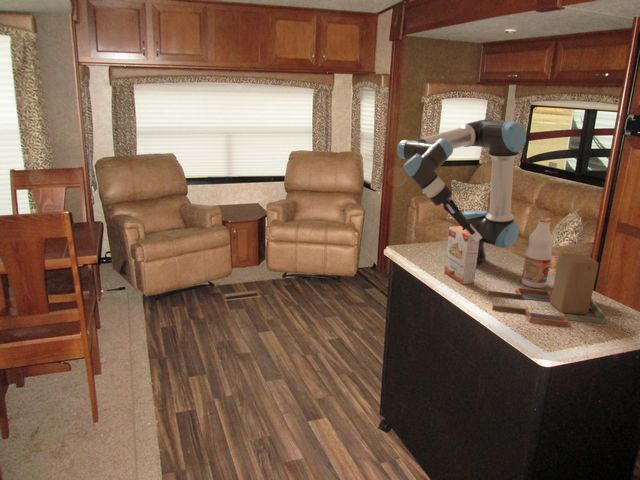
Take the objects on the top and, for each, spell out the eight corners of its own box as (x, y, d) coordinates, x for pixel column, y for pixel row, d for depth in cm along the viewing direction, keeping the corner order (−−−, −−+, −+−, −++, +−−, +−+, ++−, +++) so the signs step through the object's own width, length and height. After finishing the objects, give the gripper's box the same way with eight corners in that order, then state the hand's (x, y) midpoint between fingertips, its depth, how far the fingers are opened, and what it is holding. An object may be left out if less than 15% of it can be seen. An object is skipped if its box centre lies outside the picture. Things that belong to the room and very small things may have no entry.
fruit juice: (519, 278, 210) (530, 214, 202) (543, 281, 208) (555, 216, 200) (523, 286, 201) (534, 220, 193) (547, 289, 199) (560, 222, 191)
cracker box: (443, 272, 213) (448, 226, 207) (455, 271, 215) (461, 225, 209) (461, 284, 200) (468, 235, 194) (474, 283, 202) (481, 234, 196)
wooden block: (588, 315, 177) (600, 262, 171) (561, 314, 177) (571, 261, 171) (575, 303, 186) (585, 253, 181) (548, 302, 186) (558, 252, 180)
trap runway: (485, 287, 198) (486, 280, 198) (584, 298, 192) (585, 291, 191) (495, 317, 172) (496, 309, 171) (610, 331, 165) (612, 323, 164)
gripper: (428, 194, 187) (468, 240, 189) (429, 201, 175) (472, 251, 177) (444, 181, 185) (485, 228, 187) (446, 188, 172) (489, 238, 174)
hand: (478, 239), depth 182 cm, fingers closed
